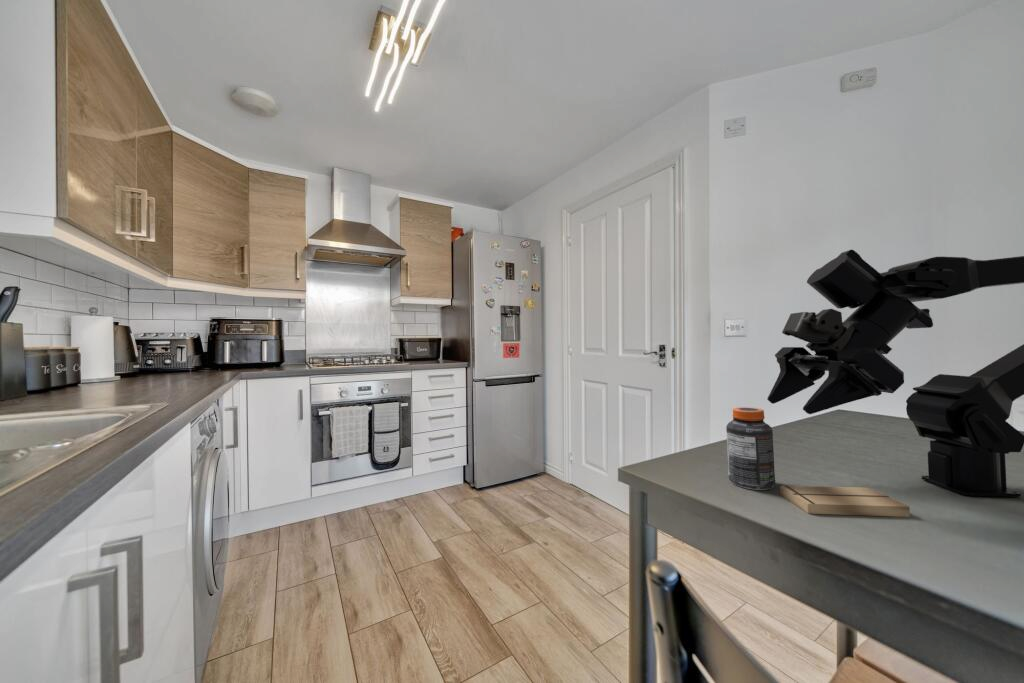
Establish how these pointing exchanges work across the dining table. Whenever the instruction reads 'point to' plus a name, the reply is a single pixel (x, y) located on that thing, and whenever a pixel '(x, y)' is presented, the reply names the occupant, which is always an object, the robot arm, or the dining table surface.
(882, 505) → the oak board
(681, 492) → the dining table surface
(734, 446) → the pill bottle
